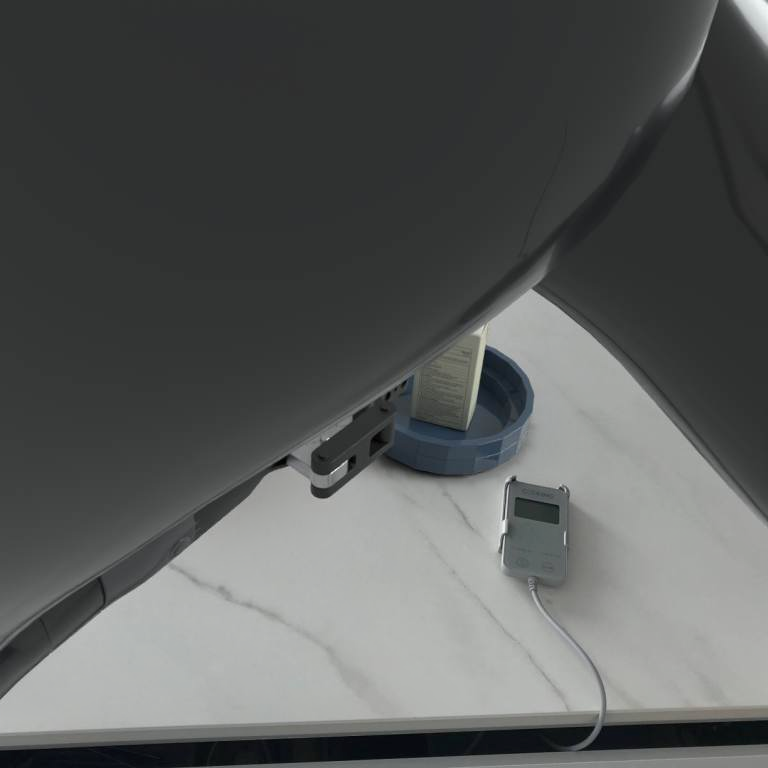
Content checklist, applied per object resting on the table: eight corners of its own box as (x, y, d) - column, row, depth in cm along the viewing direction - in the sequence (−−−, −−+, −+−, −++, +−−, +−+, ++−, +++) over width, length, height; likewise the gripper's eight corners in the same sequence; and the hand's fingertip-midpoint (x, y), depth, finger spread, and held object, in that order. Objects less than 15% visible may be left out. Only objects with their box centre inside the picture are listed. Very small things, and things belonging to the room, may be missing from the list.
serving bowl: (559, 429, 82) (569, 396, 79) (442, 506, 72) (448, 473, 69) (442, 347, 91) (447, 316, 89) (324, 406, 82) (326, 373, 79)
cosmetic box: (475, 408, 82) (494, 313, 75) (466, 433, 79) (485, 337, 71) (418, 392, 84) (430, 297, 76) (406, 417, 80) (418, 320, 73)
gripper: (241, 507, 31) (452, 329, 42) (22, 364, 37) (256, 240, 48) (249, 615, 36) (436, 431, 46) (53, 474, 42) (259, 339, 52)
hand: (345, 335), depth 47 cm, fingers open, 8 cm apart
